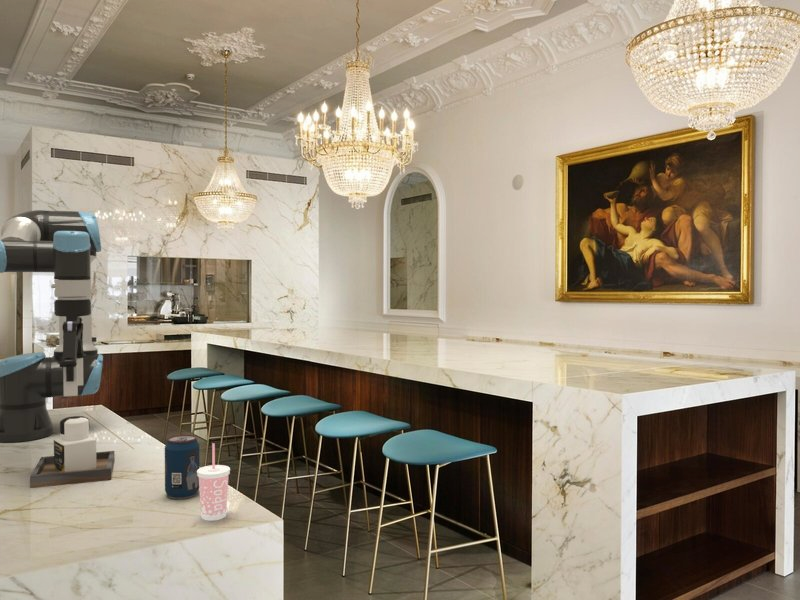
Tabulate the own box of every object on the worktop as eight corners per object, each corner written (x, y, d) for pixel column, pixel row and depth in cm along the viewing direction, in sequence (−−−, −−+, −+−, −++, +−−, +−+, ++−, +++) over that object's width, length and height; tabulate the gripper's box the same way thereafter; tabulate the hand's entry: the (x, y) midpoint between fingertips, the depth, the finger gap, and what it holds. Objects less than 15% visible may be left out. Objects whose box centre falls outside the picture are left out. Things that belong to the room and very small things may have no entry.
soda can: (172, 488, 140) (172, 433, 139) (204, 489, 139) (203, 433, 139) (159, 499, 133) (159, 441, 132) (193, 500, 132) (192, 442, 132)
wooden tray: (41, 467, 155) (41, 456, 155) (114, 460, 161) (114, 450, 161) (30, 487, 140) (29, 476, 140) (111, 479, 146) (110, 468, 146)
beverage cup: (199, 524, 120) (198, 449, 119) (195, 512, 125) (194, 441, 125) (232, 519, 122) (232, 445, 122) (227, 508, 128) (227, 438, 127)
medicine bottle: (53, 468, 150) (52, 417, 150) (86, 462, 155) (85, 413, 155) (63, 475, 145) (63, 422, 145) (97, 469, 150) (96, 417, 150)
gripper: (61, 296, 159) (62, 382, 160) (46, 301, 136) (47, 401, 137) (94, 296, 162) (95, 380, 163) (85, 300, 139) (87, 399, 139)
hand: (74, 390), depth 150 cm, fingers open, 13 cm apart
